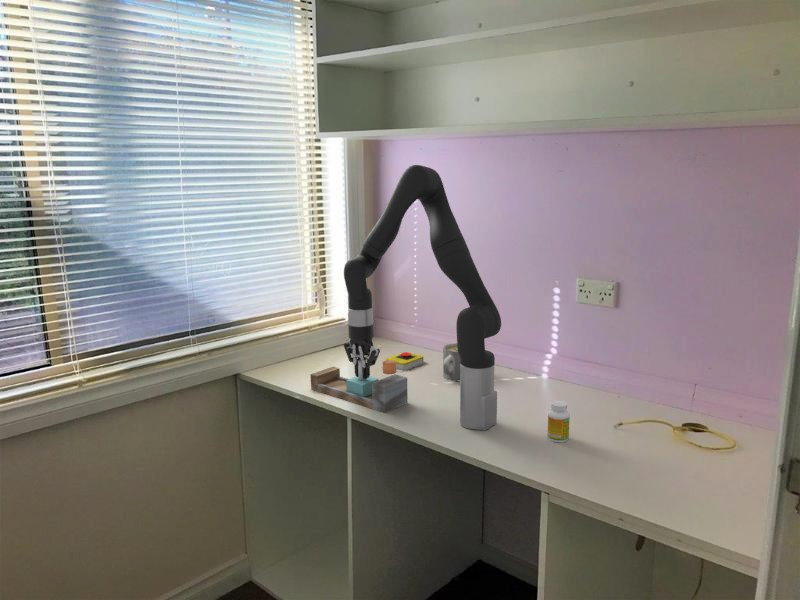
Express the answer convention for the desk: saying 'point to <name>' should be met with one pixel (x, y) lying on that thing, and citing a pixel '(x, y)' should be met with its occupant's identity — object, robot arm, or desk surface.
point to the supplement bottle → (558, 422)
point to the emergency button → (406, 361)
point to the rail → (383, 396)
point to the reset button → (389, 367)
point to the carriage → (360, 383)
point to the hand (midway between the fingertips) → (362, 377)
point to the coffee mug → (451, 362)
